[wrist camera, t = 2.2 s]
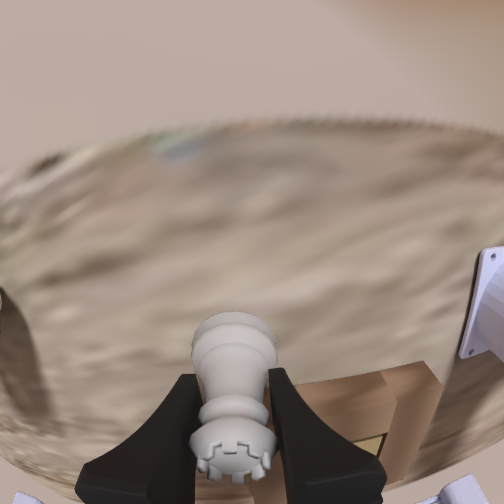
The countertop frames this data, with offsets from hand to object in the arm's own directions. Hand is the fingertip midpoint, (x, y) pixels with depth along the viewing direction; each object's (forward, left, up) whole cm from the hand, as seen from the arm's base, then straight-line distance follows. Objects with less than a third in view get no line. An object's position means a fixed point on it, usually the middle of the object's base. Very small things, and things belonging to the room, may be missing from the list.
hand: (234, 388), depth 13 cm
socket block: (-6, +9, -4) cm, 11 cm away
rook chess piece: (0, 0, -4) cm, 4 cm away
